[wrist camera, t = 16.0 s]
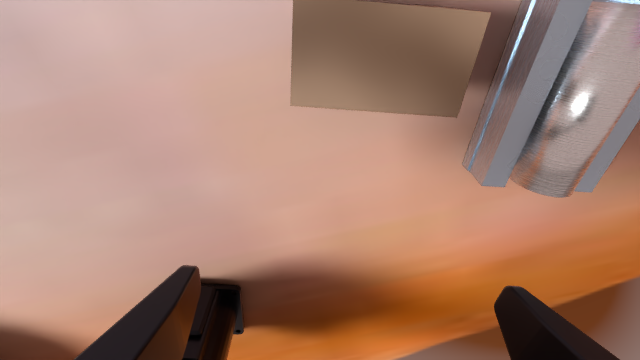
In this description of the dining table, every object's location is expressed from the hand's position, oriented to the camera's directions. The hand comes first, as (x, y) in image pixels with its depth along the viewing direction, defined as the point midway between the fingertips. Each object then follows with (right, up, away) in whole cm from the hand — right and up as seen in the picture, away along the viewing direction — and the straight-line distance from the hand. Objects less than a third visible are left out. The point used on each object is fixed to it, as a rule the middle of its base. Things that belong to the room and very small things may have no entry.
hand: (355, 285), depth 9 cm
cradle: (+12, +8, +9) cm, 17 cm away
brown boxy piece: (+1, +10, +7) cm, 13 cm away
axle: (+12, +8, +8) cm, 17 cm away
